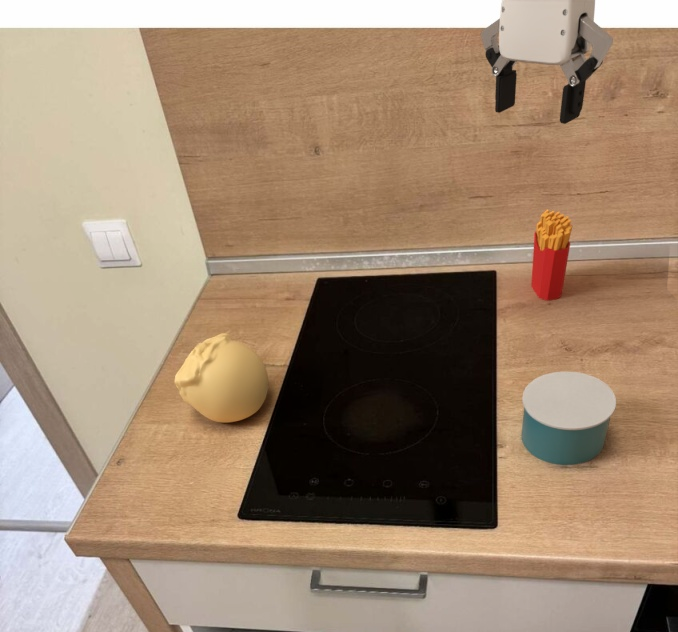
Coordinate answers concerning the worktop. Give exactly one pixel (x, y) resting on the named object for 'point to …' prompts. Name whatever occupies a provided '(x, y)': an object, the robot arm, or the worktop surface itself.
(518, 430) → the worktop surface
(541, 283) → the french fries
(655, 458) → the worktop surface
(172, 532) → the worktop surface
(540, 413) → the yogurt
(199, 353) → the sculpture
